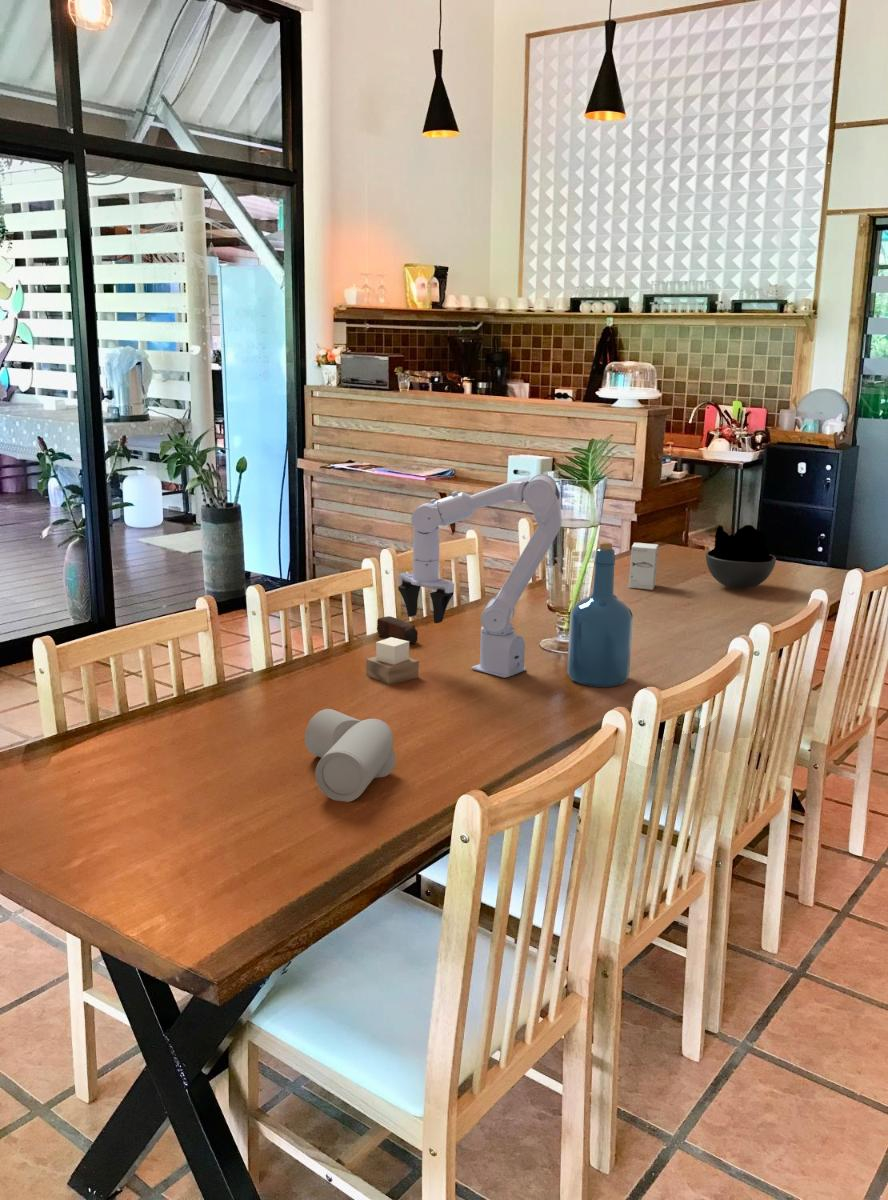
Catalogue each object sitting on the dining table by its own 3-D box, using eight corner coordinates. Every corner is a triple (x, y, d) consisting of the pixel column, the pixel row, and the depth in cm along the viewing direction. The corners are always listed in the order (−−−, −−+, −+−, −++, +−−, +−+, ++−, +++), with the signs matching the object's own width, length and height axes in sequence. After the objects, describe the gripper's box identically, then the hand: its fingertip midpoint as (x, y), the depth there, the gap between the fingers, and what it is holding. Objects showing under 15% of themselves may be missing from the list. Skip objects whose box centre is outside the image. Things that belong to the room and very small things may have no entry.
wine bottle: (627, 691, 216) (637, 550, 208) (564, 686, 218) (571, 546, 211) (629, 671, 229) (638, 538, 221) (569, 666, 231) (576, 534, 224)
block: (409, 659, 222) (409, 641, 221) (394, 664, 218) (394, 646, 217) (391, 654, 225) (391, 637, 224) (376, 660, 221) (376, 642, 220)
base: (418, 678, 222) (418, 660, 221) (388, 686, 217) (389, 667, 216) (395, 669, 228) (395, 652, 227) (366, 676, 223) (366, 658, 222)
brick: (376, 636, 252) (376, 618, 251) (388, 633, 255) (388, 615, 253) (405, 646, 244) (405, 627, 243) (418, 643, 247) (418, 624, 246)
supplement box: (627, 588, 305) (630, 546, 302) (631, 582, 312) (633, 541, 309) (653, 590, 303) (656, 548, 300) (655, 585, 310) (658, 543, 307)
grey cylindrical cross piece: (430, 771, 172) (351, 738, 185) (421, 716, 167) (341, 686, 181) (352, 826, 160) (273, 786, 174) (340, 768, 156) (260, 732, 170)
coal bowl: (780, 587, 311) (786, 525, 306) (762, 600, 294) (768, 535, 290) (715, 577, 321) (720, 518, 316) (693, 590, 304) (699, 527, 300)
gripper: (389, 556, 227) (388, 616, 230) (439, 566, 218) (438, 628, 221) (410, 552, 232) (409, 610, 235) (460, 561, 223) (459, 622, 226)
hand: (425, 619), depth 229 cm, fingers open, 7 cm apart
